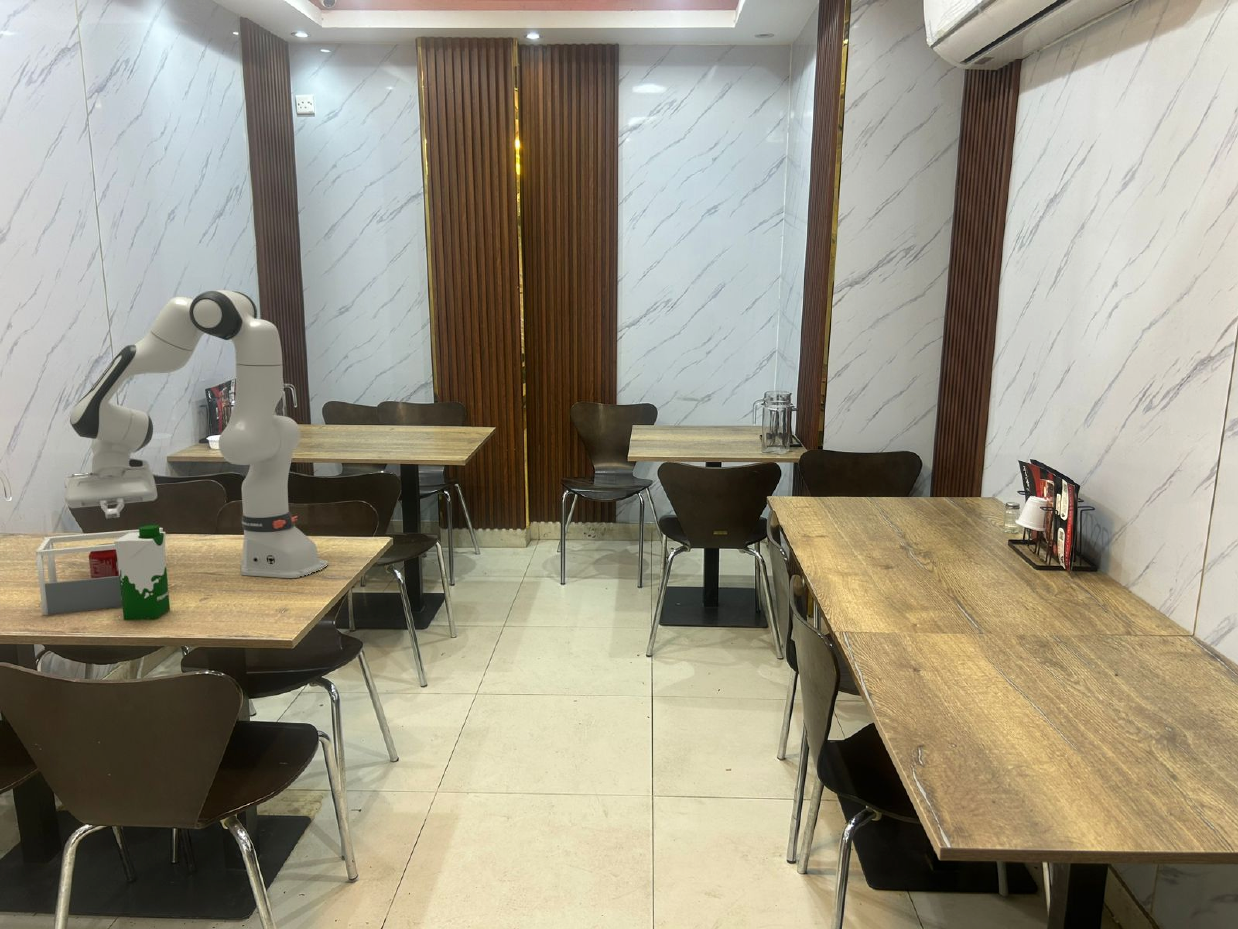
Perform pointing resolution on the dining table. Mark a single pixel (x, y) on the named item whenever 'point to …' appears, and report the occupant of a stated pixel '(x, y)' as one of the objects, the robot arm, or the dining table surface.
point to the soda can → (103, 563)
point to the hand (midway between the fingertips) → (112, 516)
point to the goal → (77, 591)
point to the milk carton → (143, 573)
